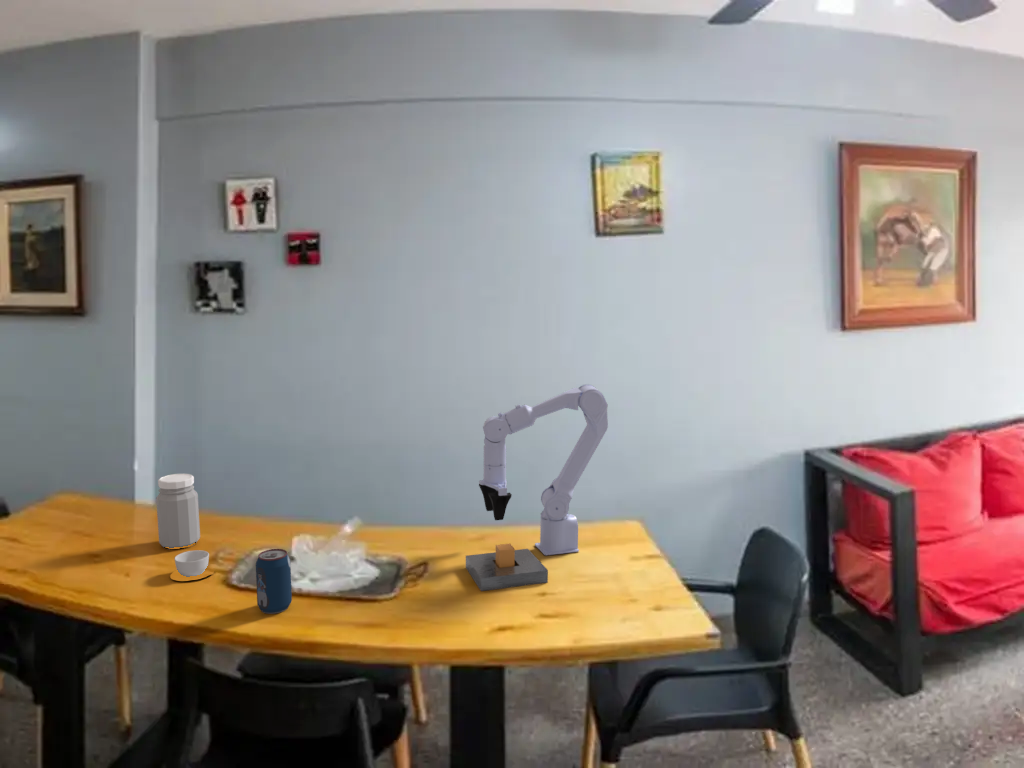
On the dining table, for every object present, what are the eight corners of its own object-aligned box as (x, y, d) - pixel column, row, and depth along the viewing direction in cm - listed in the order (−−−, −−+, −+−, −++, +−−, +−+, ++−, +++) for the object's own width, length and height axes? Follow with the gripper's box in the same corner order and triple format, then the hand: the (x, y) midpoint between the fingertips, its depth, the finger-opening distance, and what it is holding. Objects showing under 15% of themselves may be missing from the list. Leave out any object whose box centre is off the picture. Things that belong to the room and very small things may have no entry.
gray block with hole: (527, 560, 176) (527, 548, 176) (547, 582, 163) (547, 570, 163) (465, 567, 172) (465, 555, 171) (481, 591, 158) (481, 578, 158)
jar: (159, 540, 188) (155, 475, 185) (200, 535, 192) (196, 471, 189) (158, 553, 179) (154, 484, 177) (200, 547, 183) (196, 480, 181)
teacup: (198, 585, 161) (197, 565, 160) (160, 581, 163) (158, 562, 162) (224, 568, 170) (223, 549, 170) (187, 564, 172) (186, 546, 172)
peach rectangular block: (509, 571, 170) (510, 543, 169) (514, 577, 166) (514, 548, 165) (495, 572, 169) (495, 544, 168) (499, 578, 165) (499, 550, 164)
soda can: (295, 600, 153) (293, 547, 151) (286, 615, 146) (284, 560, 145) (263, 600, 153) (261, 547, 151) (253, 615, 146) (250, 560, 144)
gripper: (472, 458, 185) (472, 507, 187) (487, 472, 172) (487, 525, 174) (498, 456, 188) (497, 505, 190) (515, 469, 174) (514, 522, 176)
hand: (494, 515), depth 182 cm, fingers open, 7 cm apart
